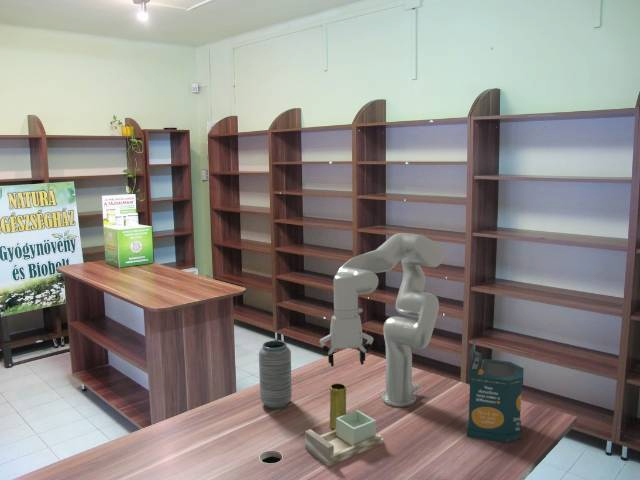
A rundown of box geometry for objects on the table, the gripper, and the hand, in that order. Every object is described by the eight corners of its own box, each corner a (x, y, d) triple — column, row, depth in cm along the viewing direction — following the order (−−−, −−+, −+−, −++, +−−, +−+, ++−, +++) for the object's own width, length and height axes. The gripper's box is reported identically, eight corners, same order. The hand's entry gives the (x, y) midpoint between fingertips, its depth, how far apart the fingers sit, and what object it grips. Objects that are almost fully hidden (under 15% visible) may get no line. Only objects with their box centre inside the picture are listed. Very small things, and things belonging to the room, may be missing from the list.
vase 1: (294, 408, 195) (293, 348, 191) (262, 413, 192) (260, 351, 189) (288, 395, 206) (287, 337, 203) (258, 398, 203) (256, 340, 200)
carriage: (357, 426, 179) (357, 409, 178) (375, 438, 171) (375, 420, 171) (336, 435, 173) (335, 418, 172) (354, 447, 166) (353, 429, 165)
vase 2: (345, 431, 179) (345, 390, 177) (327, 429, 180) (327, 389, 178) (348, 422, 185) (348, 383, 182) (331, 421, 186) (330, 381, 184)
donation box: (471, 414, 190) (474, 337, 185) (520, 421, 184) (524, 343, 179) (466, 436, 175) (469, 354, 170) (520, 445, 169) (524, 360, 164)
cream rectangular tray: (359, 427, 181) (359, 410, 180) (383, 442, 172) (383, 424, 171) (305, 449, 169) (305, 431, 168) (328, 466, 159) (328, 447, 158)
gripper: (370, 307, 175) (371, 357, 178) (317, 310, 174) (318, 360, 176) (375, 314, 168) (375, 367, 171) (319, 317, 166) (321, 370, 169)
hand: (346, 363), depth 174 cm, fingers open, 9 cm apart
